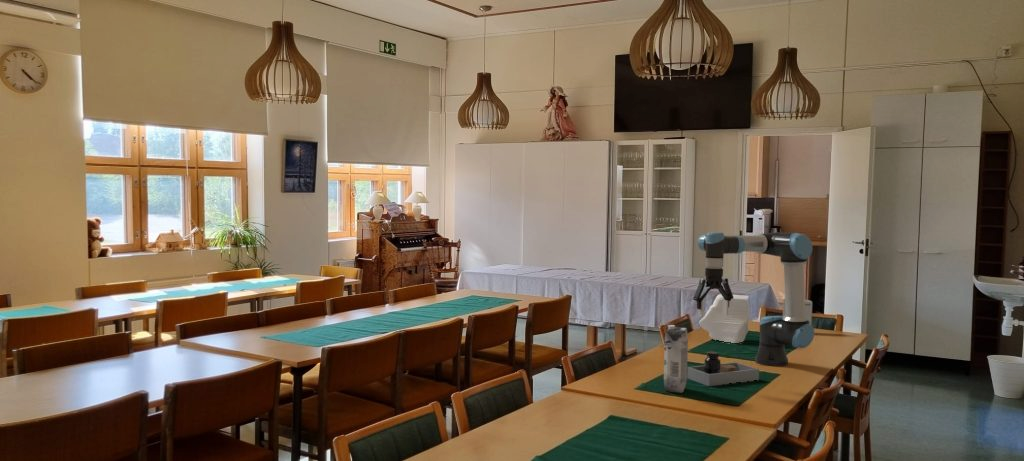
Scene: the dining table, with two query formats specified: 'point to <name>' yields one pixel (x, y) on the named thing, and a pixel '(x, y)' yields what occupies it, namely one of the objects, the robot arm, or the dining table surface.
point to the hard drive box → (807, 309)
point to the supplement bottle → (712, 363)
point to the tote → (723, 375)
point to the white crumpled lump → (727, 319)
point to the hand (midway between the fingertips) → (712, 315)
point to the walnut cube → (727, 368)
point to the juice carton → (675, 359)
